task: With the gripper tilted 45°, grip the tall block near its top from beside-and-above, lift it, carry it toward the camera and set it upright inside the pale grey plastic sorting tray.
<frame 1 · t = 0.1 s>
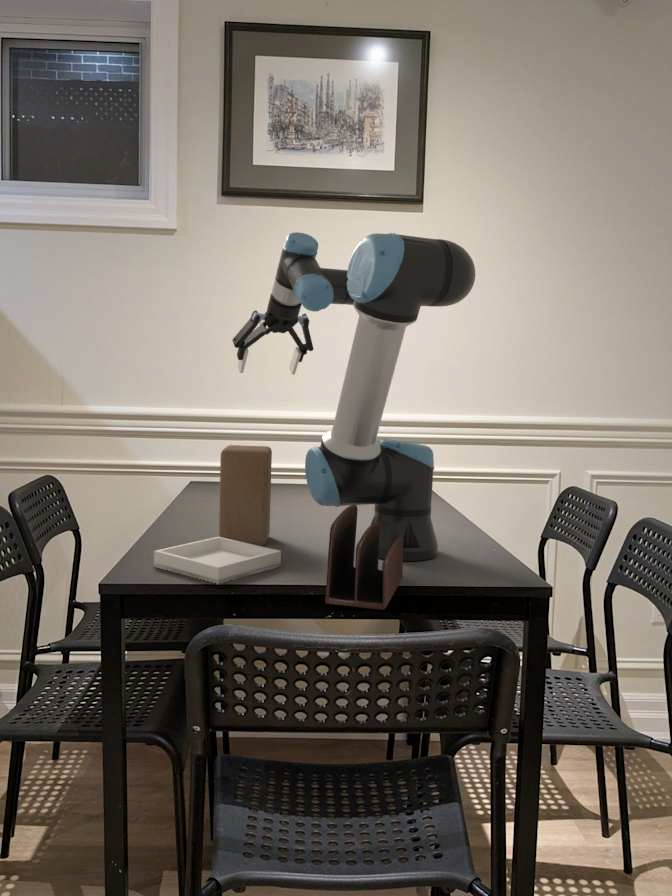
hand: (266, 370, 198), 36 cm above the table, tool tilted 35°, fingers open, 13 cm apart
block: (244, 541, 171), on the table
letter holder: (366, 592, 137), on the table
sorting tray: (217, 566, 149), on the table
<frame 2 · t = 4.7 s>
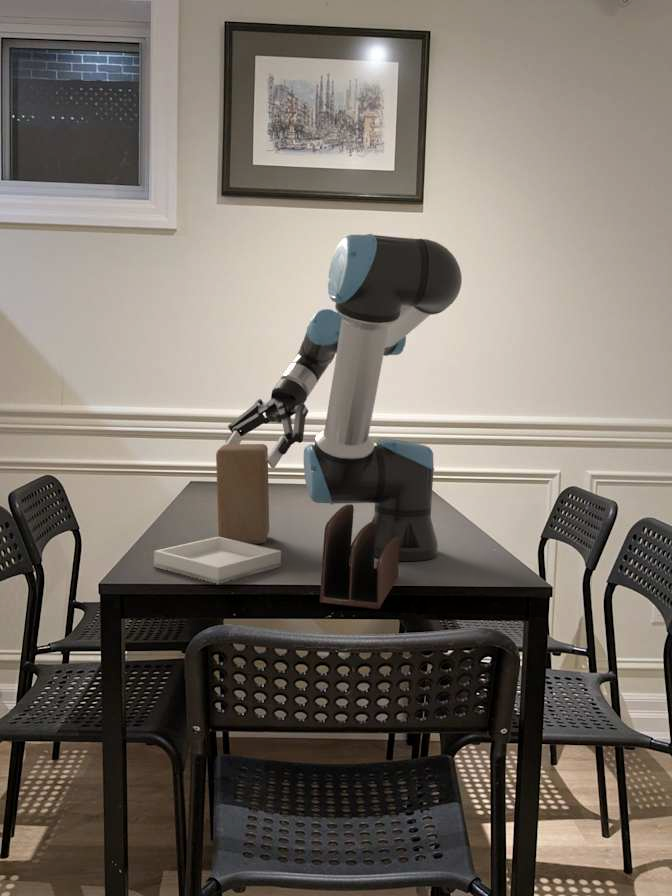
hand: (246, 460, 169), 17 cm above the table, tool tilted 45°, fingers open, 13 cm apart
block: (244, 539, 171), on the table, touching gripper
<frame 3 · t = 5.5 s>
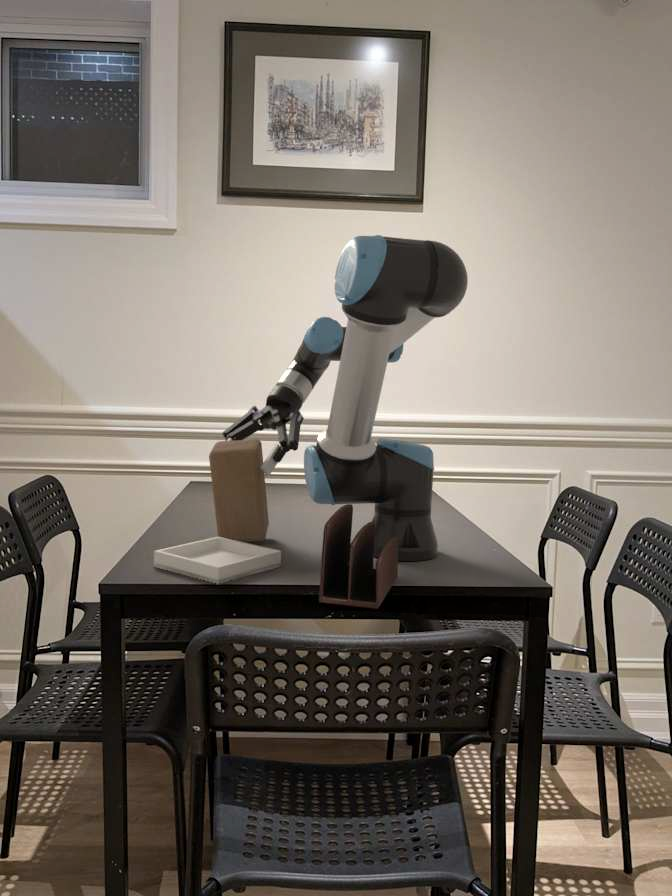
hand: (240, 468, 167), 16 cm above the table, tool tilted 45°, fingers closed on block, 13 cm apart
block: (244, 536, 170), point 1 cm above the table, touching gripper
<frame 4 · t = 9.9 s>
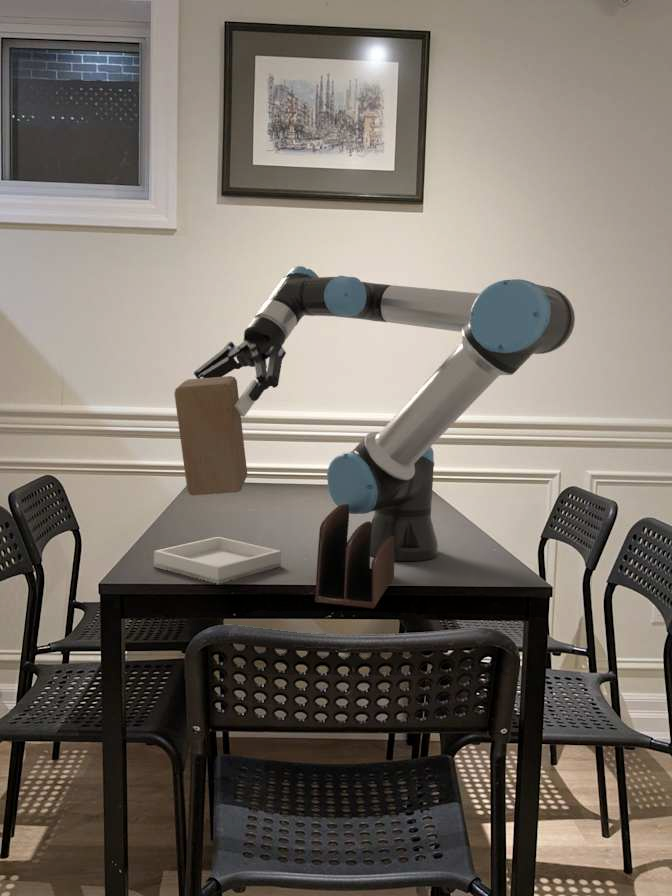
hand: (212, 409, 145), 29 cm above the table, tool tilted 45°, fingers closed on block, 13 cm apart
block: (218, 488, 148), point 15 cm above the table, touching gripper
when the fingers open (18 cm above the table, at t = 13.6 s): block drops 2 cm, resting on sorting tray.
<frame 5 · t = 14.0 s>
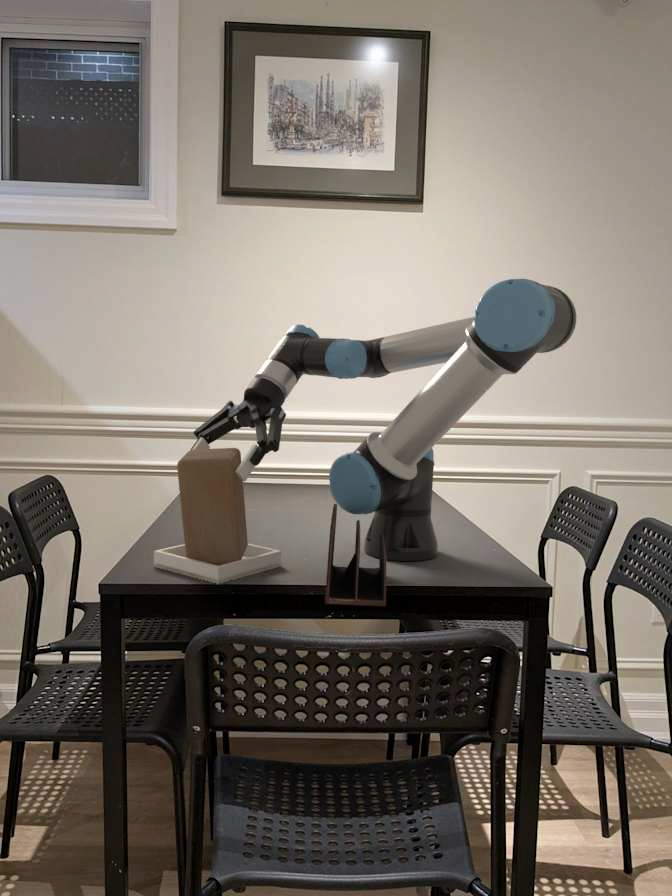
hand: (212, 472, 145), 18 cm above the table, tool tilted 45°, fingers open, 13 cm apart
block: (218, 558, 148), point 2 cm above the table, touching gripper, sorting tray
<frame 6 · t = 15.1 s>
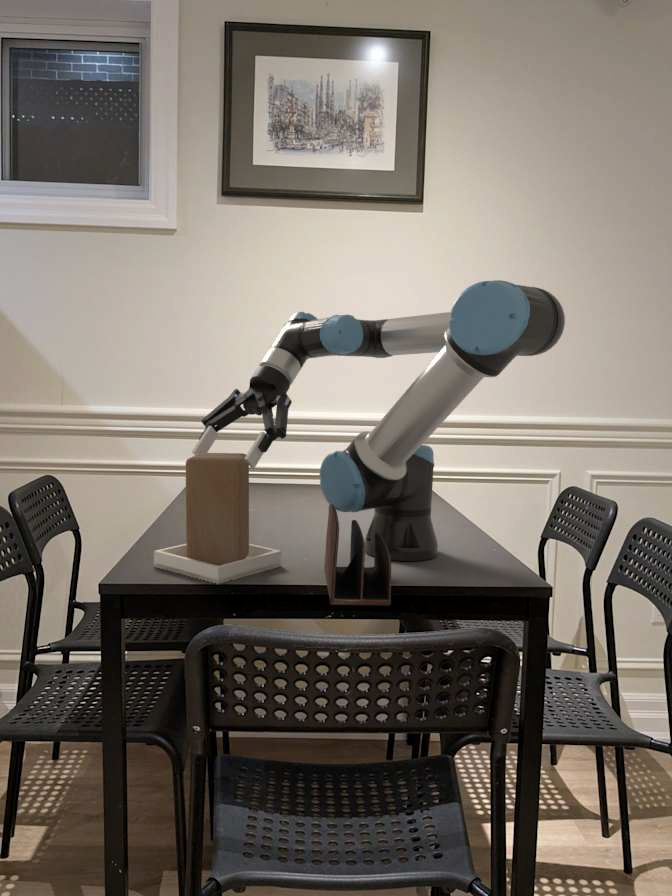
hand: (222, 460, 149), 20 cm above the table, tool tilted 45°, fingers open, 13 cm apart
block: (218, 562, 149), point 1 cm above the table, touching sorting tray
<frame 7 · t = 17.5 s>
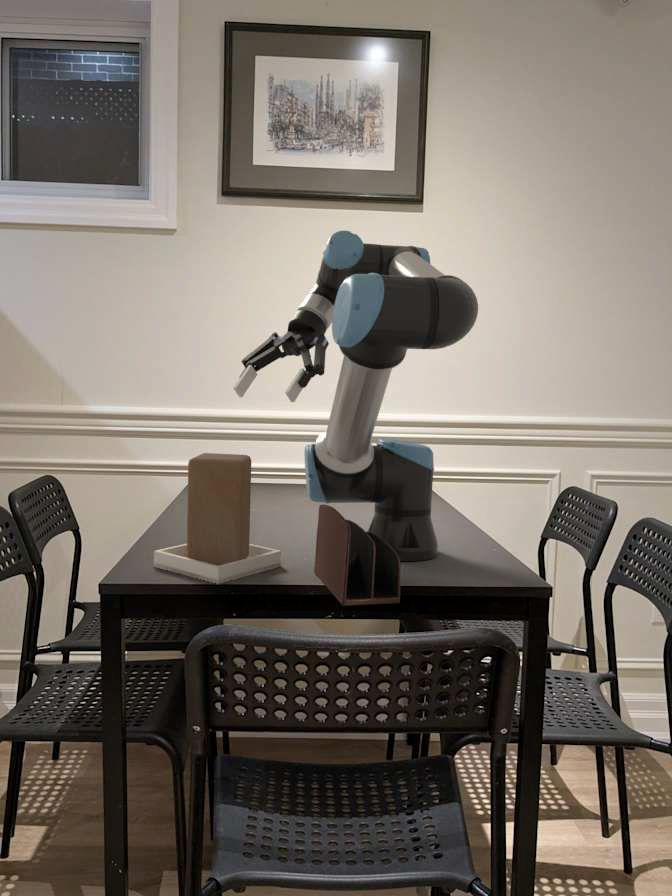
hand: (262, 395, 157), 32 cm above the table, tool tilted 45°, fingers open, 13 cm apart
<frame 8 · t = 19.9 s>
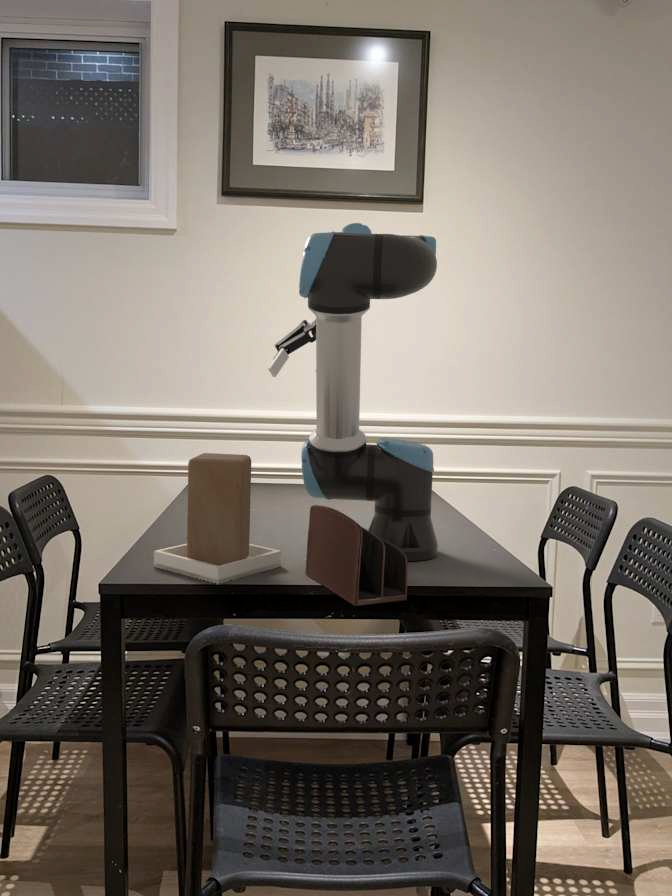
hand: (294, 374, 175), 36 cm above the table, tool tilted 45°, fingers open, 13 cm apart
at the end: block inside the target area on the sorting tray (0.2 cm from its centre), point 0.6 cm above the sorting tray's base; block tilted 0°; the gripper is holding nothing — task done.
